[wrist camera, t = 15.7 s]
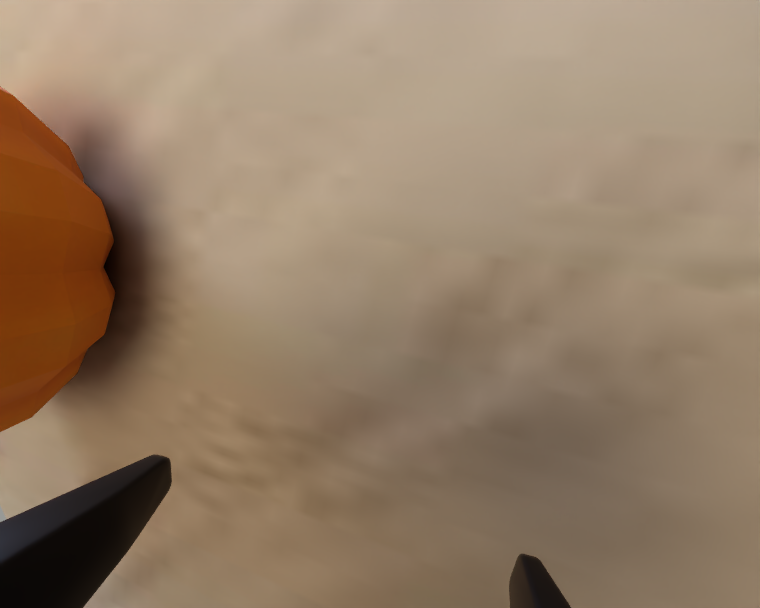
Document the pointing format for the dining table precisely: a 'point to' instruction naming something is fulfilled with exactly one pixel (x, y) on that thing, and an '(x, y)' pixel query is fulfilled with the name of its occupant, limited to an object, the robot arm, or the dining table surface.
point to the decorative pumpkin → (46, 264)
